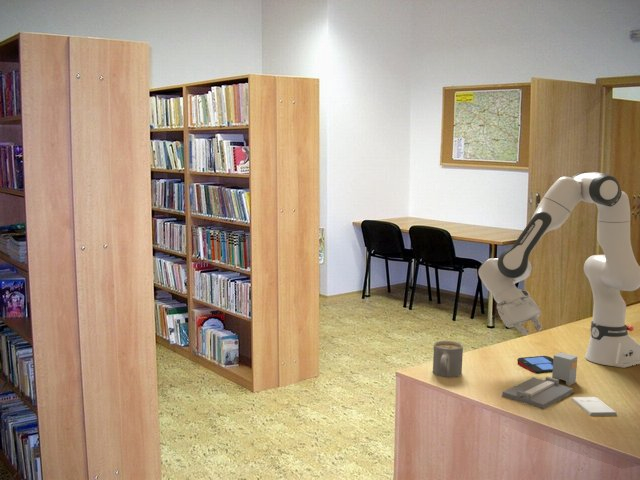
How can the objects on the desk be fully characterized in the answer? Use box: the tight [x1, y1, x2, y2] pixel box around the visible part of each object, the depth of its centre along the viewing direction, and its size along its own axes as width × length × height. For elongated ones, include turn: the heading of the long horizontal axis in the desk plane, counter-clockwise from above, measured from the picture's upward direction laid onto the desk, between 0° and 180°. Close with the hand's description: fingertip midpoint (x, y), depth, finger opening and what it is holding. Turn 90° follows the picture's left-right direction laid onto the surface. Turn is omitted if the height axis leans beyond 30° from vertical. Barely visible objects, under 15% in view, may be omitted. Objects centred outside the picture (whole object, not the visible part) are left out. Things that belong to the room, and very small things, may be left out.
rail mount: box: [501, 376, 574, 410], centre depth 218 cm, size 20×14×3 cm
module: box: [551, 352, 578, 387], centre depth 229 cm, size 5×6×9 cm
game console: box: [516, 355, 554, 375], centre depth 245 cm, size 14×13×2 cm
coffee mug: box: [432, 340, 464, 378], centre depth 235 cm, size 13×10×10 cm
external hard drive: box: [571, 396, 618, 417], centre depth 208 cm, size 2×8×12 cm
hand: (533, 331), depth 237 cm, fingers open, 8 cm apart
